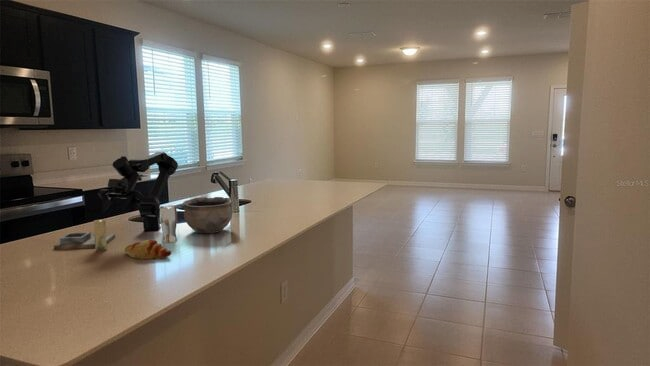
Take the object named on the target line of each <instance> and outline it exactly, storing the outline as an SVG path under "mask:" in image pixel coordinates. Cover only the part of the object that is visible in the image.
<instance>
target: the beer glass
mask: <svg viewBox="0 0 650 366" xmlns="http://www.w3.org/2000/svg"><path fill="white" fill-rule="evenodd" d="M177 225H178V211H177V205H163V206H161V205H160V227H161V231H162V232H161V233H162V238H161V242H162V243H163V242H165V244H170V243H169V242H172V243H175V242H174V241H176V242H177V241H178V237H177V231H176V230H177Z"/></svg>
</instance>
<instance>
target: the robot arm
mask: <svg viewBox="0 0 650 366" xmlns="http://www.w3.org/2000/svg"><path fill="white" fill-rule="evenodd" d="M155 164H156V165H157V166H158V172H159V173H158V175H157V176H156V180H155V181H154V183H153V186H152V188H151V190H150V193H149V195H148V196H144V195H143V194H142V193H141V192H140V191H139V190H136V188H135V186H136V184H137V182H141V181H143V179H142V177H141V174H139V173H145V172H147V171H148V170H149V168H150V167H151V166H153V165H155ZM178 166H179V163H178V162H177V160H176V159H175V158H174V157H172V156H170V155H168V154H167V153H166V152H163V151H156V152H155V153H152V154H149V155H148V156H145V157H142V158H132V159H128V158H127V157H126V156H124V155H122V156H120V157H119V158H117V159H116V160H114V161H113V163H112V168H113V169H115V171H116V172H117V173H118V174H119V176H121V177H122V178H121V179H119V178H109V179H108V182H107V187H108V188H111V190H112V191H113V192H112V191H111V190H110V189H99V191H98V192H97V195H98V196H99V198H100V199H101V201H102V202H101V203H102V204H101V213H102V214H104V213H106V211H107V210H108V209H109V208H110V207H111V206H112V204H113V201H115V199H121V200H122V199H123V200H124V199H126V200H125V203H124V205H123V208H122V210H121V212H120V213H121V214H122V215H124V214H125V213H127V212H129V211H131V209H133V208H134V207H136V206H138V212H139V215H140V218H143V221H142V222H143V232H156V231H157V232H158V231H159V230H161V229H162V227H161V223H160V207H161V205H160V198H161V196H162V193H163V191H164V189H165V187H166V184H167V183H168V180H169V178H170V177H171V176H172V175H174V174H175V173H176V171H177V170H178V168H179V167H178Z"/></svg>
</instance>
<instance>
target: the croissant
mask: <svg viewBox="0 0 650 366" xmlns="http://www.w3.org/2000/svg"><path fill="white" fill-rule="evenodd" d="M124 252H125V253H126V254H127V256H129V257H131V258H133V259H137V258H139V259H140V258H141V259H140V260H151V259H152V260H153V258H160V259H165V258H167V257H169V256H170V255H171V254H172V251H171V250H170V249H168V248H166V247H164V246H163V245H162V243H158V241H156V240H155V239H147V240H143V241H141V242H140V241H139V242H138V241H137V242H134V243H133V244H129V245H127V246H126V247H125V248H124Z"/></svg>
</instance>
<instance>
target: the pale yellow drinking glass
mask: <svg viewBox="0 0 650 366" xmlns="http://www.w3.org/2000/svg"><path fill="white" fill-rule="evenodd" d="M106 231H107V229H106V220H105V219H95V220H93V232H94V234H93V235H95V252H96V253H97V252H98V253H99V252H100V253H101V252H106V251H107V250H108V247H107V245H108V243H107V242H106V234H107V232H106Z"/></svg>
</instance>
